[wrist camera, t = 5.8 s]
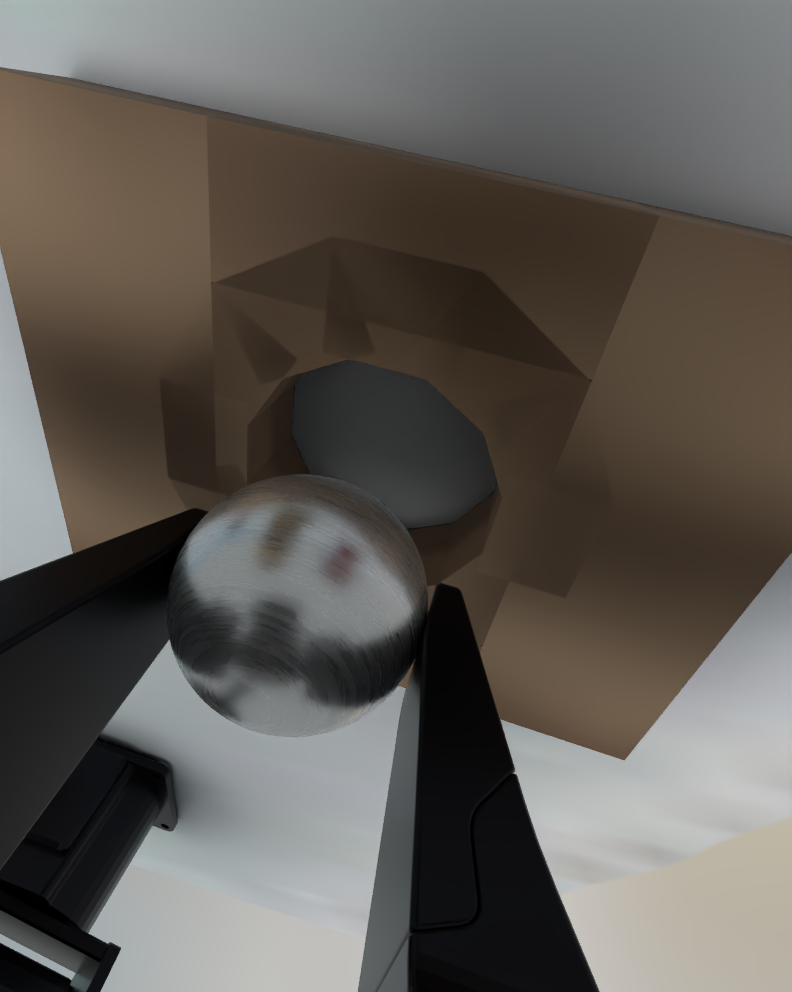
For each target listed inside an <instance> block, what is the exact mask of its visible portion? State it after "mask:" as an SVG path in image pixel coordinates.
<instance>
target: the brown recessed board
mask: <svg viewBox="0 0 792 992" xmlns="http://www.w3.org/2000/svg"><path fill="white" fill-rule="evenodd" d="M0 249H1V253H2V257H3V261H4V265H5V270H6V274H7V278H8V282H9V286H10V291H11V295H12V299H13V303H14V307H15V312H16V316H17V320H18V324H19V328H20V333H21V337H22V341H23V345H24V349H25V354H26V358H27V362H28V366H29V370H30V375H31V379H32V383H33V387H34V391H35V396H36V400H37V404H38V408H39V412H40V417H41V421H42V425H43V429H44V433H45V438H46V442H47V446H48V450H49V454H50V459H51V463H52V467H53V471H54V475H55V480H56V484H57V488H58V492H59V496H60V501H61V505H62V509H63V513H64V517H65V522H66V526H67V530H68V534H69V538H70V543H71V547H72V551H73V553H75V552H78V551H81V550H83V549H86V548H89V547H91V546H94V545H97V544H99V543H102V542H104V541H107V540H110V539H112V538H115V537H118V536H120V535H123V534H126V533H128V532H131V531H134V530H136V529H139V528H141V527H144V526H147V525H149V524H152V523H155V522H157V521H160V520H163V519H165V518H168V517H171V516H173V515H176V514H178V513H181V512H184V511H186V510H189V509H192V508H199V509H202V510H206V511H210V510H212V509H213V508H214V507H215V506H216V505H217V504H218V503H220V502H221V501H222V500H224V499H225V498H227V497H228V496H230V495H231V494H233V493H235V492H236V491H238V490H240V489H242V488H244V487H246V486H248V485H251V484H253V483H256V482H259V481H262V480H265V479H269V478H272V477H278V476H285V475H293V474H309V472H308V469H307V467H306V465H305V463H304V461H303V459H302V457H301V455H300V452H299V450H298V448H297V446H296V444H295V442H294V440H293V438H292V435H291V432H292V417H293V402H294V387H295V383H296V381H297V380H298V379H299V378H300V376H301V375H302V374H303V373H304V372H307V371H310V370H314V369H317V368H321V367H324V366H327V365H331V364H334V363H338V362H341V361H344V360H348V359H351V360H355V361H358V362H362V363H366V364H370V365H373V366H377V367H381V368H385V369H388V370H392V371H396V372H400V373H404V374H407V375H411V376H415V377H419V378H422V379H426V380H427V381H428V382H429V383H430V384H431V385H432V386H433V387H434V388H435V389H437V390H438V391H439V392H440V393H441V394H442V395H443V396H444V397H445V398H446V399H447V400H448V401H449V402H450V403H451V404H453V405H454V406H455V407H456V408H457V409H458V410H459V411H460V412H461V413H462V414H463V415H464V416H465V417H466V418H467V419H469V420H470V421H471V422H472V423H473V424H474V425H475V426H476V427H477V428H478V429H479V430H480V431H481V432H482V433H483V434H484V438H485V441H486V445H487V448H488V452H489V455H490V458H491V462H492V465H493V469H494V472H495V476H496V479H497V484H496V487H495V490H494V493H493V494H491V495H490V496H489V497H487V498H486V499H485V500H483V501H482V502H481V503H480V504H478V505H477V506H476V507H474V508H473V509H472V510H470V511H469V512H468V513H467V514H465V515H464V516H463V517H461V518H460V519H459V520H457V521H456V522H455V523H453V524H446V525H439V526H432V527H425V528H419V529H412V530H407V531H408V532H409V534H410V535H411V537H412V539H413V541H414V543H415V545H416V547H417V550H418V552H419V554H420V556H421V560H422V563H423V566H424V570H425V575H426V580H427V587H428V611H429V607H430V604H431V601H432V597H433V594H434V591H435V588H436V585H437V584H438V583H444V584H447V585H450V586H454V587H457V588H459V589H460V590H461V592H462V594H463V598H464V601H465V604H466V608H467V611H468V614H469V618H470V621H471V624H472V628H473V631H474V634H475V638H476V641H477V644H478V648H479V651H480V654H481V658H482V661H483V664H484V668H485V671H486V674H487V678H488V681H489V684H490V688H491V691H492V694H493V698H494V701H495V704H496V708H497V711H498V714H499V718H500V719H501V720H504V721H507V722H510V723H513V724H516V725H519V726H522V727H525V728H528V729H531V730H534V731H537V732H540V733H543V734H547V735H550V736H553V737H556V738H559V739H562V740H565V741H568V742H571V743H574V744H577V745H580V746H583V747H586V748H589V749H592V750H595V751H598V752H601V753H604V754H607V755H610V756H613V757H616V758H619V759H622V760H625V759H626V758H627V756H628V755H629V754H630V753H631V751H632V750H633V749H634V748H635V746H636V745H637V744H638V743H639V741H640V740H641V739H642V738H643V736H644V735H645V734H646V733H647V732H648V730H649V729H650V728H651V727H652V725H653V724H654V723H655V722H656V720H657V719H658V718H659V717H660V715H661V714H662V713H663V712H664V710H665V709H666V708H667V707H668V705H669V704H670V703H671V702H672V700H673V699H674V698H675V697H676V695H677V694H678V693H679V692H680V690H681V689H682V688H683V687H684V685H685V684H686V683H687V682H688V680H689V679H690V678H691V677H692V676H693V674H694V673H695V672H696V671H697V669H698V668H699V667H700V666H701V664H702V663H703V662H704V661H705V659H706V658H707V657H708V656H709V654H710V653H711V652H712V651H713V649H714V648H715V647H716V646H717V644H718V643H719V642H720V641H721V639H722V638H723V637H724V636H725V634H726V633H727V632H728V631H729V629H730V628H731V627H732V626H733V624H734V623H735V622H736V621H737V620H738V618H739V617H740V616H741V615H742V613H743V612H744V611H745V610H746V608H747V607H748V606H749V605H750V603H751V602H752V601H753V600H754V598H755V597H756V596H757V595H758V593H759V592H760V591H761V590H762V588H763V587H764V586H765V585H766V583H767V582H768V581H769V580H770V578H771V577H772V576H773V575H774V573H775V572H776V571H777V570H778V568H779V567H780V566H781V565H782V564H783V562H784V561H785V560H786V559H787V557H788V556H789V555H790V554H791V552H792V236H787V235H783V234H778V233H774V232H769V231H765V230H760V229H755V228H751V227H746V226H742V225H737V224H733V223H728V222H724V221H719V220H714V219H710V218H705V217H701V216H696V215H692V214H687V213H683V212H678V211H673V210H669V209H664V208H660V207H655V206H651V205H646V204H642V203H637V202H633V201H628V200H623V199H619V198H614V197H610V196H605V195H601V194H596V193H592V192H587V191H582V190H578V189H573V188H569V187H564V186H560V185H555V184H551V183H546V182H541V181H537V180H532V179H528V178H523V177H519V176H514V175H510V174H505V173H500V172H496V171H491V170H487V169H482V168H478V167H473V166H469V165H464V164H459V163H455V162H450V161H446V160H441V159H437V158H432V157H428V156H423V155H418V154H414V153H409V152H405V151H400V150H396V149H391V148H387V147H382V146H378V145H373V144H368V143H364V142H359V141H355V140H350V139H346V138H341V137H337V136H332V135H327V134H323V133H318V132H314V131H309V130H305V129H300V128H296V127H291V126H286V125H282V124H277V123H273V122H268V121H264V120H259V119H255V118H250V117H245V116H241V115H236V114H232V113H227V112H223V111H218V110H214V109H209V108H204V107H200V106H195V105H191V104H186V103H182V102H177V101H173V100H168V99H163V98H159V97H154V96H150V95H145V94H141V93H136V92H132V91H127V90H123V89H118V88H113V87H109V86H104V85H100V84H95V83H91V82H86V81H82V80H77V79H72V78H67V77H61V76H54V75H48V74H41V73H34V72H28V71H21V70H15V69H8V68H1V67H0ZM413 663H414V662H413ZM412 666H413V664H412ZM412 666H411V667H410V669H409V671H408V673H407V674H406V676H405V677H404V679H403V680H402V681H401V683H400V684H399V685H398V686H401V687H404V688H407V684H408V681H409V677H410V674H411V670H412Z"/></svg>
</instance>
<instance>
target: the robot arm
mask: <svg viewBox="0 0 792 992" xmlns="http://www.w3.org/2000/svg"><path fill="white" fill-rule="evenodd" d="M208 512H209V511H206V510H202V509H199V508H192V509H189V510H186V511H184V512H181V513H178V514H176V515H173V516H171V517H168V518H165V519H163V520H160V521H157V522H155V523H152V524H149V525H147V526H144V527H141V528H139V529H136V530H134V531H131V532H128V533H126V534H123V535H120V536H118V537H115V538H112V539H110V540H107V541H104V542H102V543H99V544H97V545H94V546H91V547H89V548H86V549H83V550H81V551H78V552H75V553H73V554H70V555H67V556H65V557H62V558H60V559H57V560H54V561H52V562H49V563H46V564H44V565H41V566H38V567H36V568H33V569H30V570H28V571H25V572H23V573H20V574H17V575H15V576H12V577H9V578H7V579H4V580H1V581H0V934H2V935H4V936H6V937H8V938H10V939H12V940H14V941H15V942H17V943H19V944H21V945H23V946H25V947H27V948H29V949H31V950H33V951H34V952H36V953H38V954H40V955H42V956H44V957H46V958H48V959H50V960H52V961H54V962H56V963H58V964H59V965H62V966H64V967H65V968H67V969H69V970H71V971H73V972H75V973H76V974H75V976H74V977H73V979H72V980H70V979H69V978H67V977H65V976H63V975H61V974H59V973H57V972H55V971H53V970H51V969H50V968H48V967H46V966H44V965H42V964H40V963H38V962H36V961H34V960H32V959H30V958H28V957H26V956H24V955H23V954H21V953H19V952H17V951H15V950H13V949H11V948H9V947H7V946H5V945H3V944H1V943H0V992H100V991H101V989H102V987H103V985H104V983H105V981H106V979H107V977H108V975H109V973H110V971H111V968H112V966H113V964H114V962H115V960H116V958H117V956H118V954H119V952H120V950H121V947H119V946H117V945H115V944H113V943H111V942H110V943H108V944H107V943H105V942H103V941H101V940H99V939H98V938H96V937H94V936H92V935H90V934H88V933H89V931H90V929H91V928H92V926H93V924H94V922H95V921H96V919H97V918H98V916H99V914H100V912H101V911H102V909H103V907H104V906H105V904H106V902H107V901H108V899H109V897H110V896H111V894H112V892H113V891H114V889H115V887H116V886H117V884H118V882H119V881H120V879H121V877H122V876H123V874H124V872H125V871H126V869H127V867H128V866H129V864H130V862H131V861H132V859H133V857H134V856H135V854H136V852H137V851H138V849H139V847H140V846H141V844H142V842H143V840H144V839H145V837H146V835H147V834H148V832H149V830H150V829H151V827H152V825H153V826H155V827H158V828H161V829H163V830H166V831H173V830H174V828H175V826H176V825H177V822H178V821H177V814H176V807H175V800H174V793H173V786H172V779H171V772H170V769H169V768H168V767H167V766H165V765H164V764H162V763H159V762H157V761H154V760H151V759H148V758H146V757H143V756H140V755H137V754H135V753H132V752H129V751H126V750H124V749H121V748H118V747H115V746H113V745H110V744H107V743H104V742H102V741H99V740H96V739H97V737H98V736H99V735H100V733H101V732H102V730H103V729H104V728H105V726H106V725H107V724H108V722H109V721H110V720H111V718H112V717H113V715H114V714H115V713H116V711H117V710H118V709H119V707H120V706H121V705H122V703H123V702H124V700H125V699H126V698H127V696H128V695H129V694H130V692H131V691H132V690H133V688H134V687H135V685H136V684H137V683H138V681H139V680H140V679H141V677H142V676H143V675H144V673H145V672H146V670H147V669H148V668H149V666H150V665H151V664H152V662H153V661H154V659H155V658H156V657H157V655H158V654H159V653H160V651H161V650H162V649H163V647H164V646H165V644H166V643H167V642H168V640H169V639H170V637H169V632H168V627H167V595H168V589H169V583H170V577H171V574H172V571H173V568H174V565H175V562H176V560H177V557H178V555H179V552H180V550H181V549H182V547H183V545H184V543H185V541H186V540H187V538H188V537H189V535H190V533H191V532H192V530H193V529H194V528H195V527H196V525H197V524H198V523H199V522H200V521H201V519H202V518H203V517H204V516H205V515H206V514H207V513H208ZM514 772H515V768H514V764H513V761H512V758H511V754H510V751H509V748H508V744H507V741H506V738H505V734H504V731H503V728H502V724H501V721H500V718H499V714H498V711H497V708H496V704H495V701H494V698H493V694H492V691H491V688H490V684H489V681H488V678H487V674H486V671H485V668H484V664H483V661H482V658H481V654H480V651H479V648H478V644H477V641H476V638H475V634H474V631H473V628H472V624H471V621H470V618H469V614H468V611H467V608H466V604H465V601H464V598H463V594H462V592H461V590H460V589H459V588H457V587H454V586H450V585H447V584H444V583H438V584H437V585H436V588H435V591H434V594H433V597H432V601H431V604H430V607H429V611H428V616H427V621H426V624H425V628H424V632H423V635H422V639H421V642H420V645H419V649H418V652H417V655H416V658H415V660H414V663H413V666H412V670H411V674H410V677H409V681H408V684H407V688H406V691H405V695H404V699H403V703H402V708H401V713H400V719H399V725H398V731H397V738H396V744H395V751H394V758H393V764H392V771H391V777H390V784H389V790H388V797H387V804H386V810H385V817H384V823H383V830H382V836H381V843H380V849H379V856H378V863H377V869H376V876H375V882H374V889H373V895H372V902H371V909H370V915H369V922H368V928H367V935H366V941H365V949H364V955H363V961H362V968H361V974H360V981H359V987H358V992H600V991H599V989H598V987H597V984H596V982H595V979H594V977H593V975H592V972H591V970H590V967H589V965H588V963H587V960H586V958H585V955H584V953H583V951H582V948H581V946H580V943H579V941H578V939H577V936H576V934H575V931H574V929H573V927H572V924H571V922H570V919H569V917H568V915H567V912H566V910H565V907H564V905H563V903H562V900H561V898H560V895H559V893H558V891H557V888H556V886H555V883H554V881H553V878H552V875H551V873H550V870H549V868H548V865H547V863H546V860H545V858H544V855H543V852H542V850H541V847H540V845H539V842H538V839H537V836H536V833H535V830H534V827H533V824H532V821H531V818H530V815H529V812H528V809H527V806H526V803H525V800H524V797H523V793H522V790H521V787H520V783H519V780H518V777H517V775H516V774H514Z"/></svg>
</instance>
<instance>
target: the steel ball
mask: <svg viewBox="0 0 792 992" xmlns="http://www.w3.org/2000/svg"><path fill="white" fill-rule="evenodd" d="M427 616H428V587H427V580H426V575H425V570H424V566H423V563H422V560H421V556H420V554H419V552H418V550H417V547H416V545H415V543H414V541H413V539H412V537H411V535H410V534H409V532H408V531H407V529H406V528H405V526H404V525H403V524H402V522H401V521H400V520H399V519H398V518H397V516H396V515H395V514H394V513H393V512H392V511H391V510H390V509H389V508H388V507H387V506H386V505H385V504H383V503H382V502H381V501H380V500H378V499H377V498H376V497H374V496H373V495H371V494H370V493H368V492H366V491H365V490H363V489H361V488H359V487H357V486H355V485H353V484H350V483H348V482H345V481H342V480H339V479H335V478H330V477H326V476H320V475H312V474H293V475H285V476H278V477H272V478H269V479H265V480H262V481H259V482H256V483H253V484H251V485H248V486H246V487H244V488H242V489H240V490H238V491H236V492H235V493H233V494H231V495H230V496H228V497H227V498H225V499H224V500H222V501H221V502H220V503H218V504H217V505H216V506H215V507H214V508H213V509H212V510H210V511H209V512H208V513H207V514H206V515H205V516H204V517H203V518H202V519H201V521H200V522H199V523H198V524H197V525H196V527H195V528H194V529H193V530H192V532H191V533H190V535H189V537H188V538H187V540H186V541H185V543H184V545H183V547H182V549H181V550H180V552H179V555H178V557H177V560H176V562H175V565H174V568H173V571H172V574H171V577H170V583H169V589H168V595H167V627H168V632H169V637H170V642H171V647H172V650H173V652H174V655H175V658H176V660H177V662H178V665H179V667H180V669H181V671H182V673H183V675H184V676H185V678H186V679H187V681H188V682H189V684H190V685H191V686H192V688H193V689H194V690H195V691H196V693H197V694H198V695H199V696H200V697H201V698H202V699H203V701H204V702H205V703H207V704H208V705H209V706H210V707H211V708H212V709H214V710H215V711H216V712H218V713H219V714H220V715H222V716H224V717H225V718H227V719H228V720H230V721H232V722H234V723H236V724H238V725H240V726H242V727H244V728H247V729H250V730H252V731H256V732H259V733H263V734H267V735H273V736H286V737H305V736H311V735H317V734H322V733H327V732H330V731H334V730H336V729H339V728H341V727H344V726H346V725H349V724H351V723H353V722H355V721H357V720H358V719H360V718H362V717H363V716H365V715H366V714H368V713H369V712H371V711H372V710H374V709H375V708H376V707H377V706H379V705H380V704H381V703H382V702H383V701H384V700H385V699H386V698H387V697H388V696H389V695H390V694H391V693H393V691H394V690H395V689H396V688H397V686H398V685H399V684H400V683H401V681H402V680H403V679H404V677H405V676H406V674H407V673H408V671H409V669H410V667H411V666H412V664H413V662H414V660H415V658H416V655H417V652H418V649H419V645H420V642H421V639H422V635H423V632H424V628H425V624H426V621H427Z"/></svg>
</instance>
